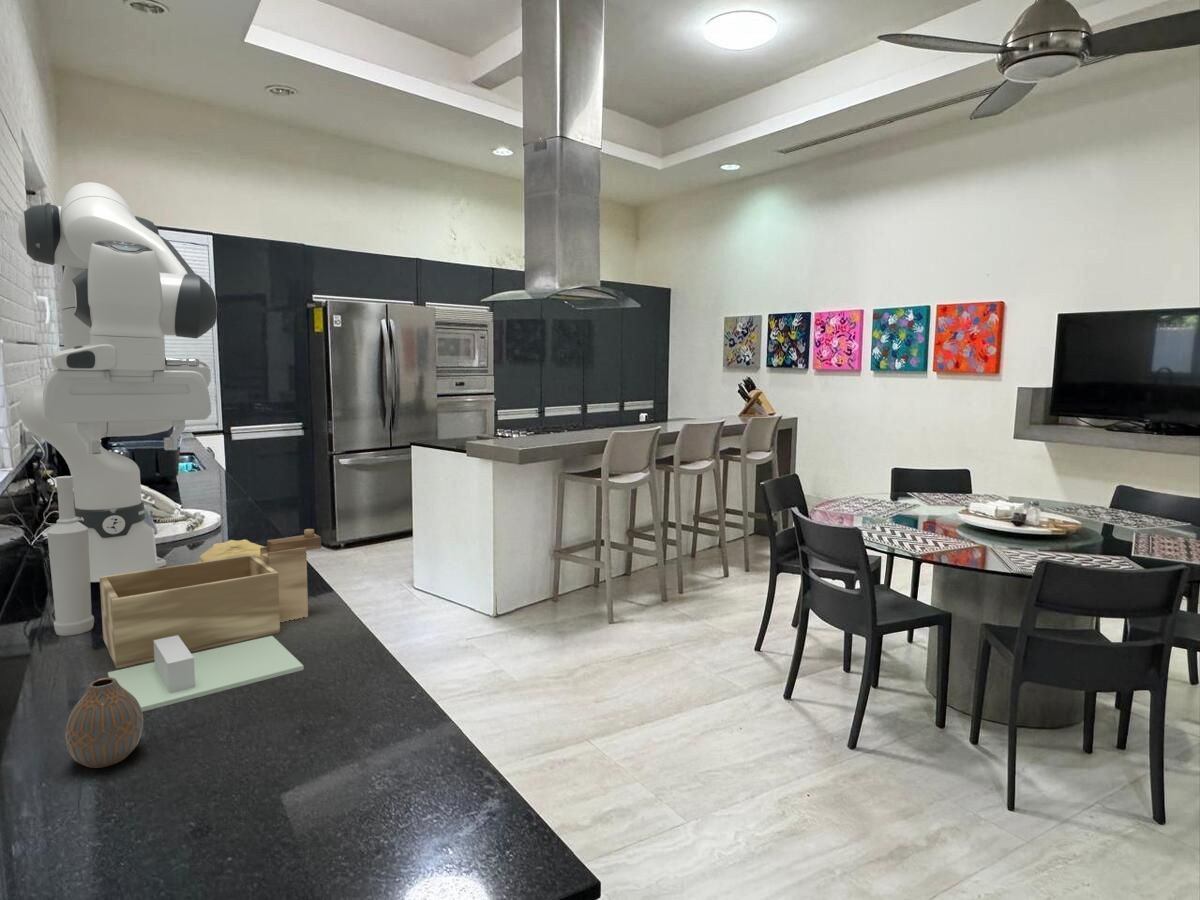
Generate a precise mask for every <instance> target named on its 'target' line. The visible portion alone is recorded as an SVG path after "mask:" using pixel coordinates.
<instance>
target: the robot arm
mask: <svg viewBox="0 0 1200 900" xmlns="http://www.w3.org/2000/svg"><path fill="white" fill-rule="evenodd" d="M17 227H18V230H17V232H18V238H19V240H20V244H21V246H22V247H23V248H24V250H25V252H26V255H27V256H28V257H30V258H31V260H33V261H35V262H38V263H41V264H46V265H50V266H54V265H60V266H64V268H63V273H62V278H61V290H60V309H61V324H62V339H63V347H64V349H63V350H59V351H56V352H53V353H52V354H51V356H50V358H51V365H52V366H53V367H54V368H55V369H53V370H51V371H50V372H49V373H48V374H47V376H46V378H45V381H44V384H38V385H33V386H31V387H30V388H28V389H27V390H26V391H25V392H24V393H23V395H22V397H21V399H20V401H19V404H18V405H19V406H18V413H19V418H20V420H21V423H22V424H23V425H24V428H26V429H27V430H28V431H29V432H31V433H32V434H33V435H35V436H37V437H38V438H41V439H42V440H44V441H46V442H47V443H48V444H50V445H51V446H52V447H54V449H55V450H56V451H58V452H59V454H60V455H61V456H62V458H63V459H64V460H65V462H66V464H67V466H68V469H69V472H70V476H72V477H73V497H74V511H75V518H77V519H78V522H80V523H81V524H83V525H84V526H86V527H87V528H88V535H89V561H90V583H100V577H102V576H109V575H115V574H122V573H129V572H136V571H143V570H149V569H156V568H163V567H166V566H167V560H166V559H164V558H162V557H159V556H158V555H157V546H156V538H155V537H156V536H155V534H156V533H155V528H153V527H152V526H150V525H149V524H148V523H146V522H145V519H146V508H145V502H143V501H142V488H141V487H142V486H141V485H142V484H141V483H142V482H141V470H140V467H139V466H138V464H137V463H136V462H135V461H134V460H133V459H131V458H129V457H127V456H124V455H122V454H119V453H117V452H113V451H109V450H108V449H106V448H104V447H103V446H102V445H103V444H102V442H101V439H103V438H106V437H107V438H108V437H109V438H111V437H132V436H133V437H134V436H135V437H138V436H139V437H140V436H148V435H153V434H158V433H162V432H163V433H164V432H167V431H169V430H171V428H172V427H174V430H173V431H172V433H171V434H170V436H169V437H163V443H164V444H163V448H164V449H163V450H165V451H177V450H178V439H179V438H180V436H181V435H182V433H183V431H184V430H185V429H186V421H197V420H198V421H200V420H201V421H202V420H207V419H208V418H209V417H210V415H212V405H211V404H212V403H211V397H210V392H209V388H208V387H209V386H210V384H211V381H212V380H211V375H212V374H211V373H212V372H211V369H210V367H209V365H207V363H205V362H203V361H200V359H197V358H187V359H186V358H178V357H166V346H165V336H176V337H179V338H188V339H195V340H196V339H198V338H200V337H202V336H204V334H206V333H208V332H209V331H210V330H211V329H212V328H213V327H214V326H215V324H216V322H217V316H218V315H217V314H218V303H217V298H216V295H215V291H214V290H213V288H212V286H210V284H209V283H208V282H207V281H206V279H204V278H203V277H202V276H201V275H199V274H197V273H196V272H195V271H194V270H193V269H192V267H190V265H189V264H188V262H186V260H185V258H183V256H182V255H181V254H180V253H179V251H178V250H177V249H176V248H175V247H174V246H173V244H172V243H171V242H170V241H169V240H168V239H166V238H165V237H163V236H162V235H161V233H160V232H159V229H158V227H157V226H156V224H155V223H154V222H153V221H151V220H149V219H146V218H143V217H140V216H136V215H135V214H134V212H133V210H132V208H131V207H130V205H129V204H128V202H127V201H126V200H125V199H124V198H123V197H122V196H121V195H120V193H118V192H117V191H116V190H114V189H113V188H112V187H110V186H107V185H105V184H102V183H101V182H100V183H99V182H93V181H92V182H91V181H88V182H81V183H77V184H76V185H74V186H72V187H71V188H69V190H68V191H67V193H66V195H65V196H64V197H63V200H62V203H61V205H55V204H51V202H46V203H45V204H41V205H40V204H39V205H32V206H30V207H28V208H27V209H26V210H23V214H22V216H21V218H20V220H19V222H18V226H17Z"/></svg>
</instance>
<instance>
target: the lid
mask: <svg viewBox="0 0 1200 900" xmlns="http://www.w3.org/2000/svg"><path fill="white" fill-rule="evenodd" d="M153 642H154V661H151V662H147V663H142V664H138V665H133V666H129V667H124V668H122V669H121V668H120V669H116V670H113V671H108V672H107V678H115V679H116V680H117V682H118V683H119V685H120V686H121V687H123V688H124V689H125V690H127V691H128V692H129V693H131V694H132V695H133V696H134V697H135V698H136V699H137V701H138V703H139V705H140V707H141V710H142V713H143V712H147V711H152V710H154V709H158V708H163V707H166V706H169V705H173V704H177V703H181V702H182V703H183V702H185V701H189V700H192V699H198V698H201V697H205V696H209V695H212V694H216V693H220V692H221V693H222V692H224V691H227V690H228V691H229V690H231V689H235V688H240V687H243V686H246V685H251V684H255V683H259V682H262V681H266V680H269V679H273V678H278V677H282V676H285V675H289V674H292V673H297V672H300V671H304V669H305V667H304V665H303V664H302V662H300V660H298V659H297V658H296V657H295V655H293V653H291V652H290V651H289V650H288V649H287V648H286V647H284V645H283V644H282V643H280V642H279V640H278V639H276V638H275V636H273V635H267V636H263V637H258V638H254V639H249V640H245V641H240V642H236V643H231V644H227V645H223V646H218V647H214V648H209V649H205V650H200V651H196V652H190V651H189V650H188V649H187V647H186V646H185V644H184V643H183V641H182V640H181V639H180V637H179V636H178V635H177V636H172V637H167V638H162V639H157V640H153Z"/></svg>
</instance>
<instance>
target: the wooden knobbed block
mask: <svg viewBox="0 0 1200 900" xmlns="http://www.w3.org/2000/svg"><path fill="white" fill-rule="evenodd" d="M303 533H304V534H303V535H296V536H290V537H282V538H275V539H268V540H266V547H267V552H268V553H269V552H276V551H282V550H289V549H296V548H303V547H305V548H306V551H313V550H320V549H322V536H320V535H318V534H316V533H315V529H314V528H306V529H304V530H303Z"/></svg>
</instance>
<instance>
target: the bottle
mask: <svg viewBox="0 0 1200 900" xmlns="http://www.w3.org/2000/svg"><path fill="white" fill-rule="evenodd" d="M55 478H56V479H55V481H56V490H57V501H58V502H57V503H58V519H57V520H56V524H54V525H53V526H52V527H51V528H49V530H47V532H46V533H47V534H46V535H47V544H48V552H49V553H48V556H49V567H50V574H51V575H50V576H51V584H52V585H51V587H52V595H53V596H52V597H53V607H54V616H55V621H53V629H54V632H55V634H56V635H57V636H61V637H68V636H75V635H80V634H84V633H88V632H89V631H91V630H92V629H93V628H94V623H95V616H94V615H93V614H92V596H91V595H92V593H91V592H92V591H91V582H90V561H89V535H88V528H87V527H86V526H84V525H83V524H81V523H80V522H78V519H77V518H75V511H74V507H75V499H74V489H73V477H72V476H71V475H63V476H56V477H55Z"/></svg>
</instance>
